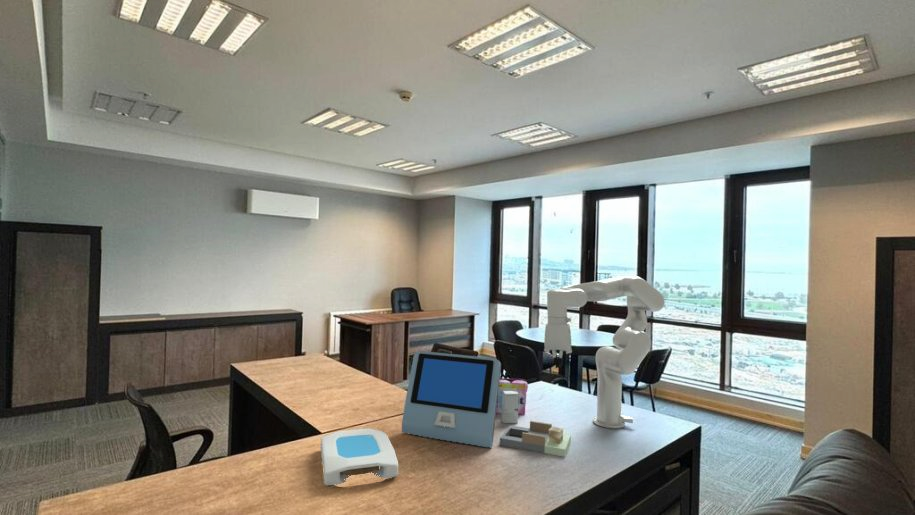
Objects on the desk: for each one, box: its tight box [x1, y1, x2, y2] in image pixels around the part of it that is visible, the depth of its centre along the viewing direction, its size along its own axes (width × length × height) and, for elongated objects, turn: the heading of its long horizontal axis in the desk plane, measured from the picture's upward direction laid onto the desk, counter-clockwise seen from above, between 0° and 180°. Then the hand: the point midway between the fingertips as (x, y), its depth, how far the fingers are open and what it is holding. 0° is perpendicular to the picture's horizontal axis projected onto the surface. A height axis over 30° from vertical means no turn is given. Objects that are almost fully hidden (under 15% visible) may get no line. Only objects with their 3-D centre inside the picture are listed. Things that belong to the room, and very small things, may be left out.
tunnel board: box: [499, 420, 572, 458], centre depth 158 cm, size 23×14×6 cm, turn 68°
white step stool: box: [320, 427, 399, 486], centre depth 138 cm, size 21×28×6 cm
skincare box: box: [501, 391, 519, 424], centre depth 180 cm, size 6×4×12 cm
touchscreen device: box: [401, 350, 502, 449], centre depth 166 cm, size 35×20×30 cm, turn 70°
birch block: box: [549, 425, 564, 444], centre depth 155 cm, size 4×4×4 cm
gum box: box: [496, 377, 529, 415], centre depth 194 cm, size 24×8×14 cm, turn 85°
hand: (558, 367), depth 172 cm, fingers closed
